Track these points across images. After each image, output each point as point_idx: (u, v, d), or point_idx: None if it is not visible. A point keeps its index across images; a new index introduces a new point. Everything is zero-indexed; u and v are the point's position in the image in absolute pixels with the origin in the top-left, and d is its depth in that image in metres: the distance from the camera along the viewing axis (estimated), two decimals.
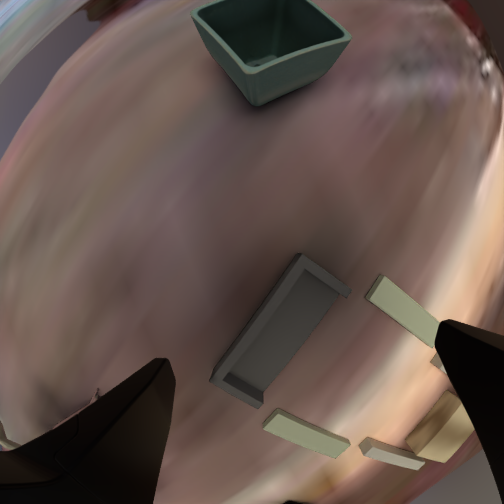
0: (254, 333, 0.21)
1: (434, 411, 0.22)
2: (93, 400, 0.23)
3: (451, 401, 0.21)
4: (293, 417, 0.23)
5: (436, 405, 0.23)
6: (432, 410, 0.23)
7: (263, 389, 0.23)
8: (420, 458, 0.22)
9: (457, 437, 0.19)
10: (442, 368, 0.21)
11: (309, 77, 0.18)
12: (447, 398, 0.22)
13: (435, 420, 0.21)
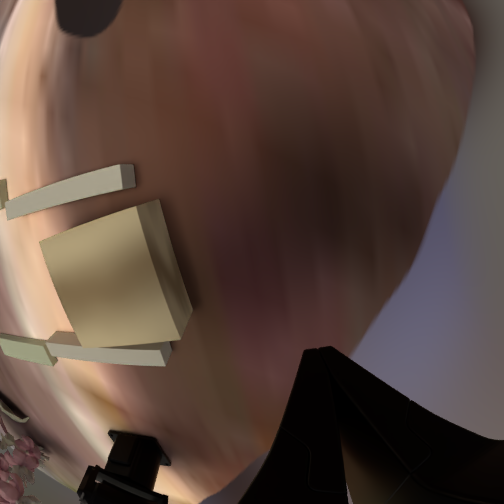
0: None
1: None
2: None
3: None
4: (6, 336, 0.20)
5: None
6: None
7: None
8: (154, 343, 0.18)
9: (118, 286, 0.14)
10: (9, 217, 0.15)
11: None
12: None
13: None
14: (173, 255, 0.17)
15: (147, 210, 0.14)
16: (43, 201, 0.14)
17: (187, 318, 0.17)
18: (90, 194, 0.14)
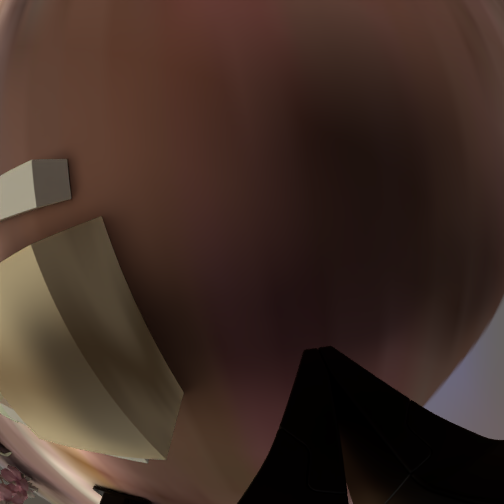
0: None
1: None
2: None
3: None
4: None
5: None
6: None
7: None
8: None
9: (47, 382, 0.06)
10: None
11: None
12: None
13: None
14: (137, 316, 0.09)
15: (66, 246, 0.06)
16: None
17: (175, 414, 0.09)
18: None
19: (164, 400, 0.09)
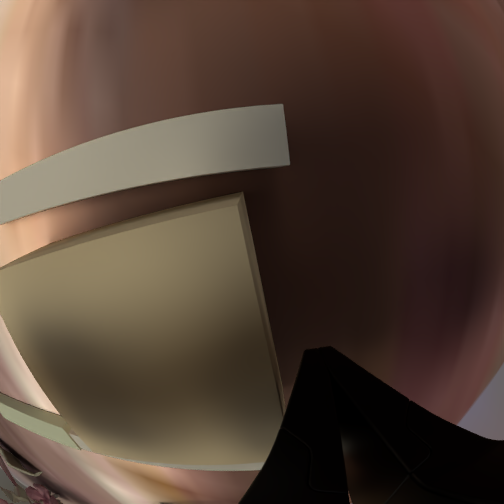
0: None
1: None
2: None
3: None
4: (3, 397, 0.12)
5: None
6: None
7: None
8: None
9: (168, 391, 0.06)
10: None
11: None
12: None
13: None
14: (265, 305, 0.09)
15: (244, 217, 0.06)
16: (46, 191, 0.06)
17: (285, 409, 0.09)
18: (187, 172, 0.06)
19: (282, 395, 0.09)
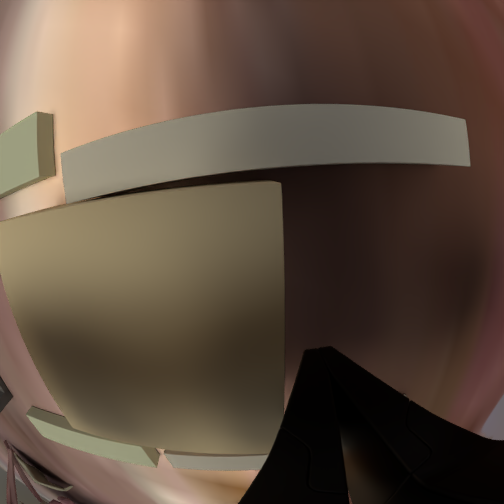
0: None
1: None
2: (8, 451, 0.14)
3: None
4: (45, 414, 0.12)
5: None
6: None
7: (2, 389, 0.11)
8: None
9: (172, 368, 0.06)
10: (74, 194, 0.06)
11: None
12: None
13: None
14: None
15: None
16: (244, 148, 0.06)
17: None
18: (414, 159, 0.06)
19: None
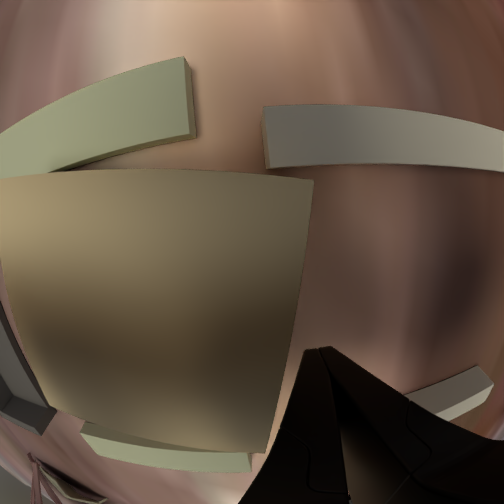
0: None
1: None
2: (33, 465, 0.14)
3: None
4: (108, 431, 0.11)
5: None
6: None
7: (44, 404, 0.11)
8: (479, 379, 0.10)
9: (169, 355, 0.06)
10: (284, 158, 0.06)
11: None
12: None
13: None
14: None
15: None
16: (444, 148, 0.06)
17: None
18: None
19: None
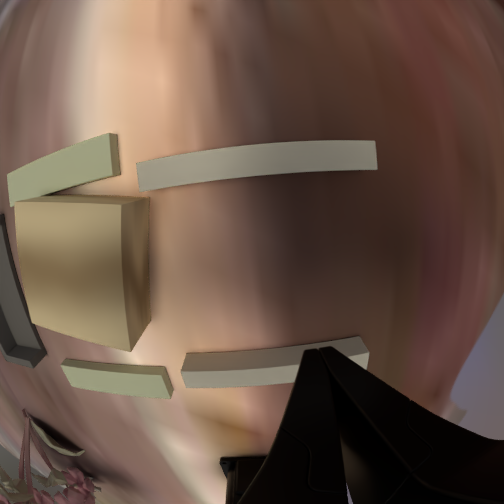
0: None
1: None
2: (25, 419, 0.21)
3: None
4: (79, 362, 0.18)
5: None
6: None
7: (39, 346, 0.17)
8: (355, 346, 0.16)
9: (81, 279, 0.12)
10: (145, 187, 0.13)
11: None
12: None
13: None
14: (146, 261, 0.15)
15: (132, 210, 0.13)
16: (240, 166, 0.12)
17: (143, 329, 0.15)
18: (333, 168, 0.12)
19: (141, 316, 0.15)
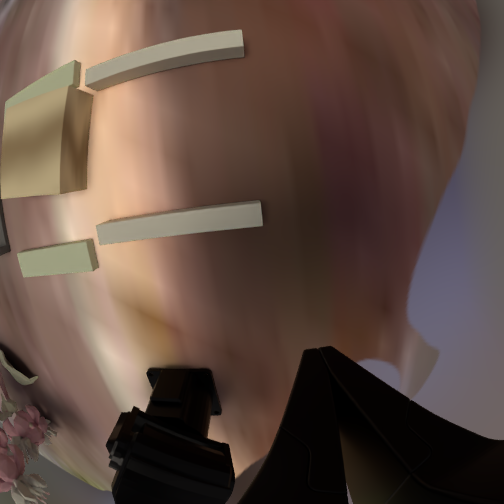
0: None
1: None
2: None
3: None
4: (31, 249, 0.20)
5: None
6: None
7: (5, 242, 0.19)
8: (250, 202, 0.18)
9: (37, 143, 0.14)
10: (88, 81, 0.14)
11: None
12: None
13: None
14: (86, 138, 0.17)
15: (77, 94, 0.14)
16: (144, 58, 0.14)
17: (76, 188, 0.17)
18: (207, 49, 0.14)
19: (76, 176, 0.17)
